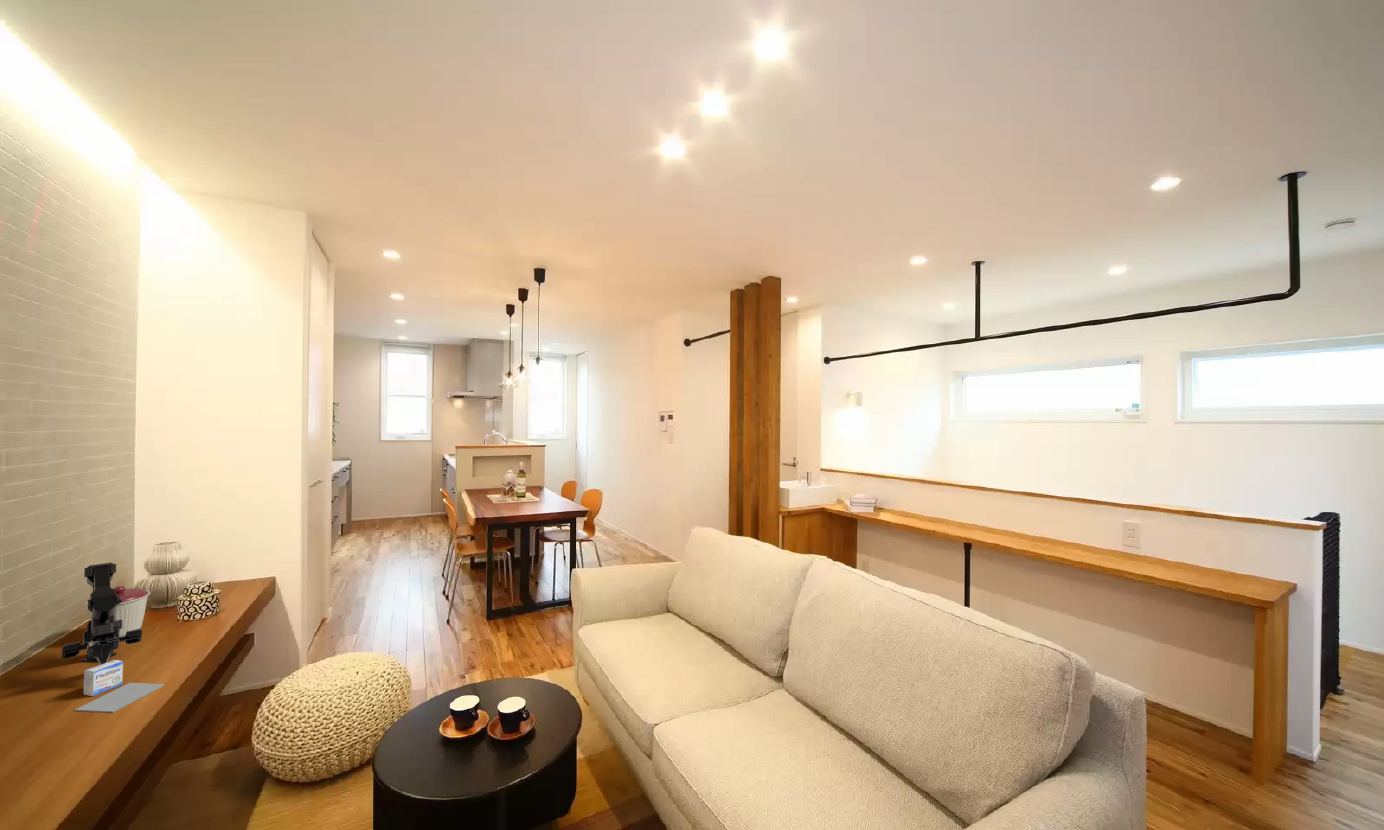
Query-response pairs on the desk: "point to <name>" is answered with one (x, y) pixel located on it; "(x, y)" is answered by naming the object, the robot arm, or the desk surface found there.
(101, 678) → the medicine box
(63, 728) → the desk surface
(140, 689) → the slate mat
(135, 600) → the canister
